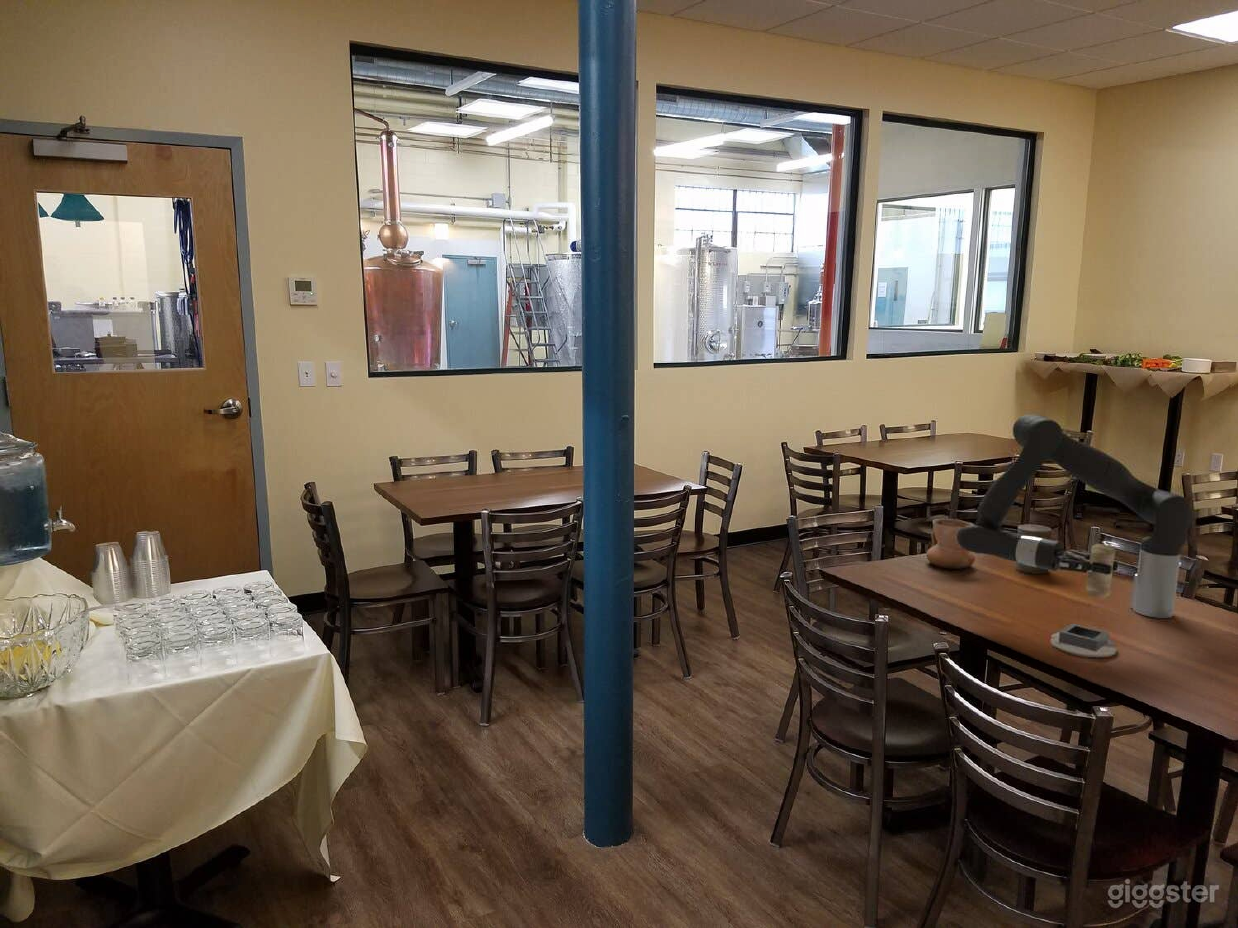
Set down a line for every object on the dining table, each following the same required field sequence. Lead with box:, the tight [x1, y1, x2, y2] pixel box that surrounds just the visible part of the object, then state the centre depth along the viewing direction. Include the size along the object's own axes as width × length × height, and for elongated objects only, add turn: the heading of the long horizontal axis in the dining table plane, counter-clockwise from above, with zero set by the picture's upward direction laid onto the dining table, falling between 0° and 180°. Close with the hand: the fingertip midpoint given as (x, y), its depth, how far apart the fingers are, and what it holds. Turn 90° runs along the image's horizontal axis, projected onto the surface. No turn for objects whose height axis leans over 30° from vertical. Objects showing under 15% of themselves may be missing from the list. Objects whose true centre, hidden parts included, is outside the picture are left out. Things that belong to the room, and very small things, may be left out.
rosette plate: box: [1050, 623, 1117, 659], centre depth 209 cm, size 14×14×4 cm
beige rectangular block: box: [1085, 543, 1117, 599], centre depth 207 cm, size 4×4×12 cm
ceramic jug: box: [925, 518, 976, 570], centre depth 275 cm, size 18×14×14 cm
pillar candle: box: [1014, 523, 1053, 575], centre depth 271 cm, size 10×10×15 cm
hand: (1113, 568), depth 205 cm, fingers closed on beige rectangular block, 4 cm apart
